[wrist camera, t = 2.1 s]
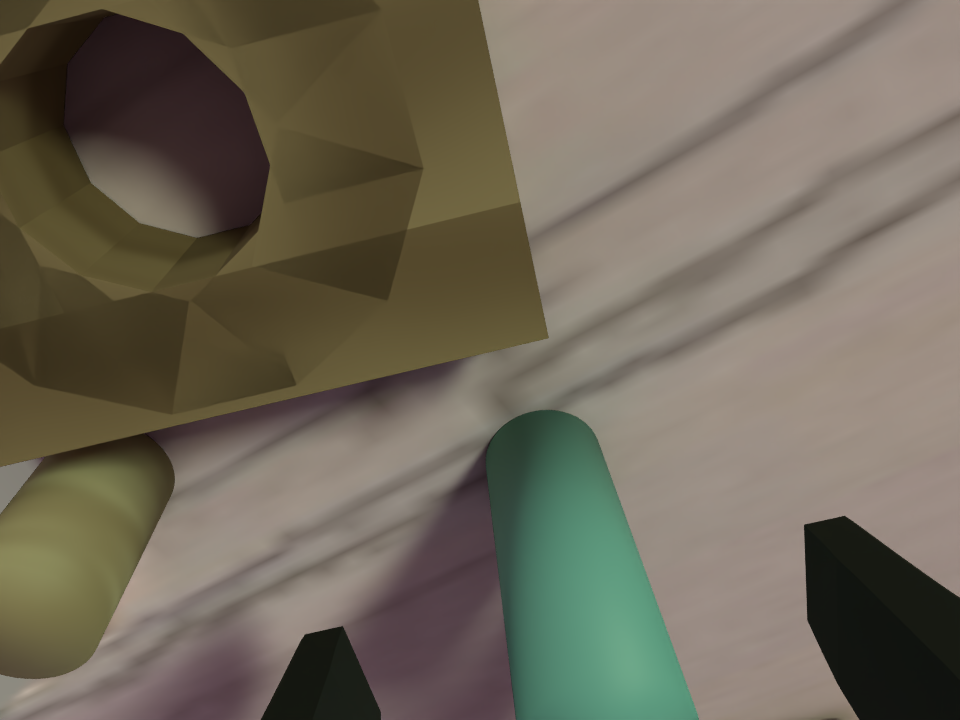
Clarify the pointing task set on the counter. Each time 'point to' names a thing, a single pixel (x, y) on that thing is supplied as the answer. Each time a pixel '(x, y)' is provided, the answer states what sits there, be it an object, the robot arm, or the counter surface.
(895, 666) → the robot arm
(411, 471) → the counter surface
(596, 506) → the long dowel
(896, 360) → the counter surface
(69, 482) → the short dowel
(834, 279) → the counter surface
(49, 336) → the board
